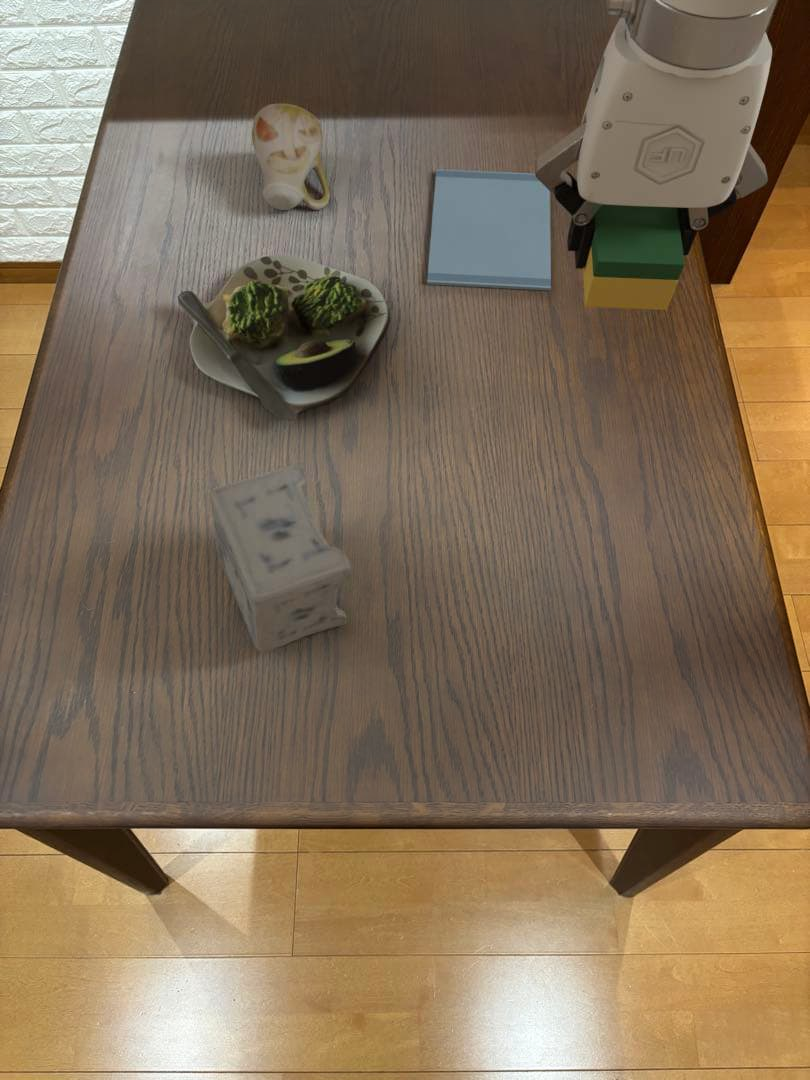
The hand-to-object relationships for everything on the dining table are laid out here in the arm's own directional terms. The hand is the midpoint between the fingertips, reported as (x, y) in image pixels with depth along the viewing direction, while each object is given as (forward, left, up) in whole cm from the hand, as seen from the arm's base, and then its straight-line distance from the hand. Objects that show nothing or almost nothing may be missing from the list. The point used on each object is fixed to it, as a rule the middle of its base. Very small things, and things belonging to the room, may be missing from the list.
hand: (624, 255), depth 62 cm
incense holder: (+24, +23, -15) cm, 36 cm away
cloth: (+9, -18, -15) cm, 25 cm away
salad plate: (+27, -2, -15) cm, 31 cm away
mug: (+30, -23, -15) cm, 41 cm away
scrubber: (0, 0, -1) cm, 1 cm away
